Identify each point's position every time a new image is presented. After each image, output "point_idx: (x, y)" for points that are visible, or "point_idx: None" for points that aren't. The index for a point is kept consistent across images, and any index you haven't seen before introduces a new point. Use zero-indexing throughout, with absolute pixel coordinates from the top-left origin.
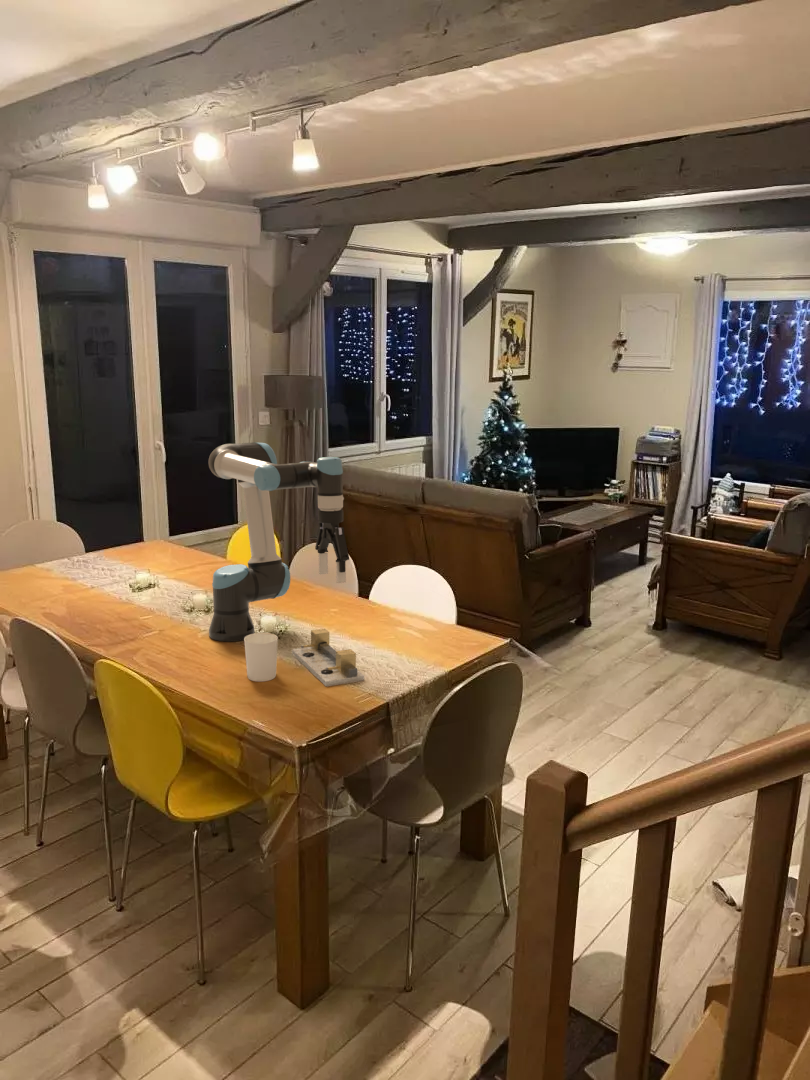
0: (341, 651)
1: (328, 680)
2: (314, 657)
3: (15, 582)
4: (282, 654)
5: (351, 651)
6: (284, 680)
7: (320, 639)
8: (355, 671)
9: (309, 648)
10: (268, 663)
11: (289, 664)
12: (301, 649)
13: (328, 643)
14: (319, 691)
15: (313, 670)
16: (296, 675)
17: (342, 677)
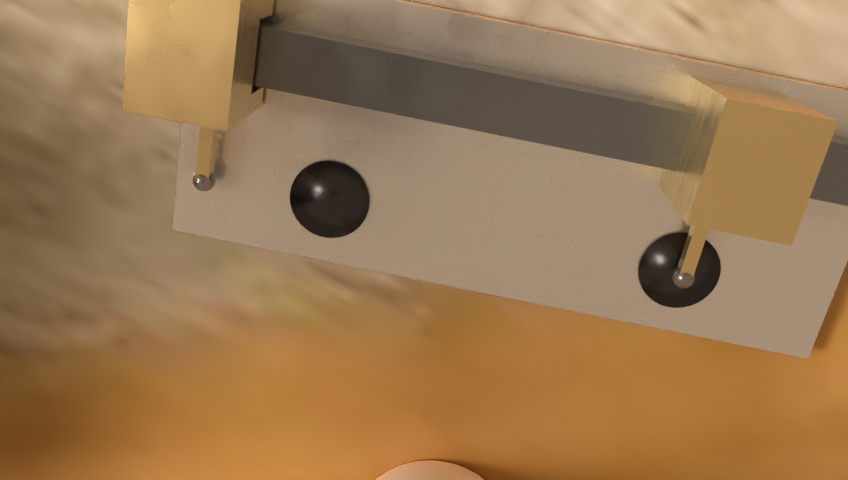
0: (721, 191)
1: (802, 337)
2: (397, 192)
3: None
4: (165, 272)
5: (779, 127)
6: (556, 464)
7: (246, 76)
8: None
9: None
10: None
11: (349, 325)
12: None
13: (267, 2)
14: (825, 405)
15: (588, 312)
16: (533, 381)
17: (828, 244)
